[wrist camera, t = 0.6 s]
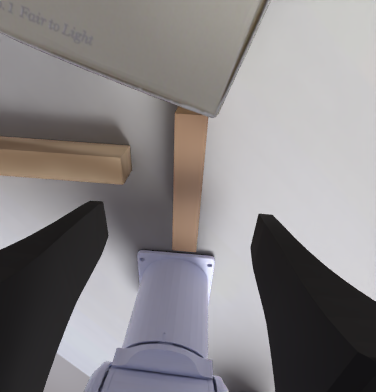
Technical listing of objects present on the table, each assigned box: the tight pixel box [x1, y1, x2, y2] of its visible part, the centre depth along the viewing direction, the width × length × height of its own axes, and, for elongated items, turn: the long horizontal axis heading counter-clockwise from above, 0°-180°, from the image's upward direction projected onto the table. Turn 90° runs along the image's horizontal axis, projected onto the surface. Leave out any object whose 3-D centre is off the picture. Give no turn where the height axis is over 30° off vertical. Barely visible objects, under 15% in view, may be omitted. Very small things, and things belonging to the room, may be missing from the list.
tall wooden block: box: [172, 106, 208, 252], centre depth 18 cm, size 10×2×5 cm, turn 177°
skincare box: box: [0, 0, 271, 118], centre depth 10 cm, size 6×4×12 cm
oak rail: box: [0, 136, 132, 185], centre depth 19 cm, size 2×14×2 cm, turn 87°
